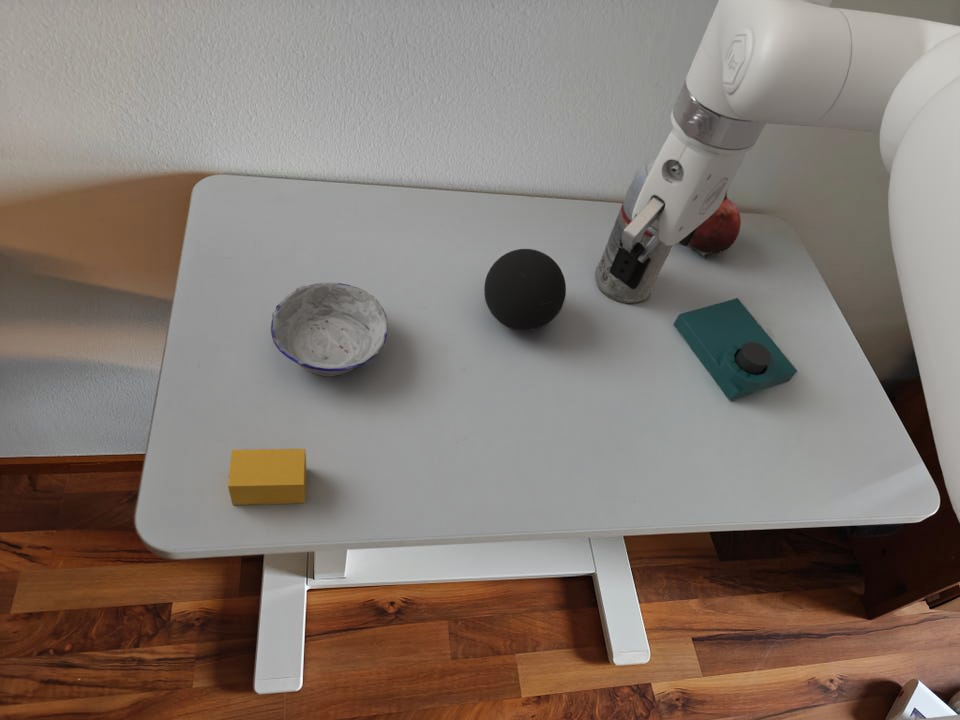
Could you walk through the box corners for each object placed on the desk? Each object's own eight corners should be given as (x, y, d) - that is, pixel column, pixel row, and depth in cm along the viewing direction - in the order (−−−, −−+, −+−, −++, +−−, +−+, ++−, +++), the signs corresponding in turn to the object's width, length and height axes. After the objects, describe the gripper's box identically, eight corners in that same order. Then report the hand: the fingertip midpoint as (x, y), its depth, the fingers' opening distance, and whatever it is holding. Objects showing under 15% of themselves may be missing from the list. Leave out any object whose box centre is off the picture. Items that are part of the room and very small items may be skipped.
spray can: (643, 315, 97) (703, 199, 81) (585, 292, 98) (634, 173, 82) (656, 275, 102) (715, 159, 87) (601, 254, 103) (650, 135, 87)
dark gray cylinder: (769, 370, 90) (777, 360, 88) (746, 378, 89) (754, 368, 87) (751, 348, 92) (759, 338, 90) (729, 355, 90) (736, 345, 89)
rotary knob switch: (793, 385, 94) (809, 367, 91) (731, 406, 90) (746, 388, 87) (730, 308, 101) (743, 288, 98) (671, 324, 97) (683, 305, 94)
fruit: (705, 274, 104) (735, 222, 96) (654, 236, 107) (679, 182, 100) (739, 249, 109) (770, 197, 101) (689, 212, 112) (716, 160, 104)
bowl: (276, 399, 80) (273, 373, 76) (270, 310, 88) (268, 283, 84) (393, 389, 83) (396, 364, 80) (378, 305, 91) (380, 278, 87)
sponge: (306, 467, 76) (305, 448, 73) (305, 503, 73) (303, 484, 70) (236, 469, 74) (231, 449, 71) (232, 505, 72) (227, 486, 69)
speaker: (499, 276, 97) (514, 220, 89) (566, 309, 96) (587, 255, 88) (464, 323, 91) (477, 267, 83) (535, 359, 90) (555, 306, 82)
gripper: (704, 176, 55) (631, 321, 69) (803, 101, 64) (721, 242, 78) (626, 126, 58) (570, 275, 71) (732, 61, 67) (665, 204, 80)
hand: (649, 258), depth 74 cm, fingers open, 9 cm apart
